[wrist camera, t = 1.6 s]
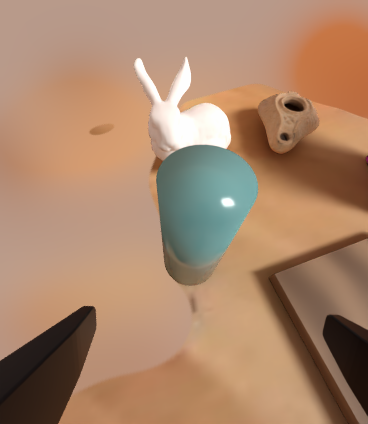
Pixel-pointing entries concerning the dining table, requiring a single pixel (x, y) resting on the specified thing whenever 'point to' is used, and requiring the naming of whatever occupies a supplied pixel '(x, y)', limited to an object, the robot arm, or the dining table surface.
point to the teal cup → (201, 208)
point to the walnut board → (328, 310)
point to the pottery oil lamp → (287, 120)
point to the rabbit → (181, 117)
